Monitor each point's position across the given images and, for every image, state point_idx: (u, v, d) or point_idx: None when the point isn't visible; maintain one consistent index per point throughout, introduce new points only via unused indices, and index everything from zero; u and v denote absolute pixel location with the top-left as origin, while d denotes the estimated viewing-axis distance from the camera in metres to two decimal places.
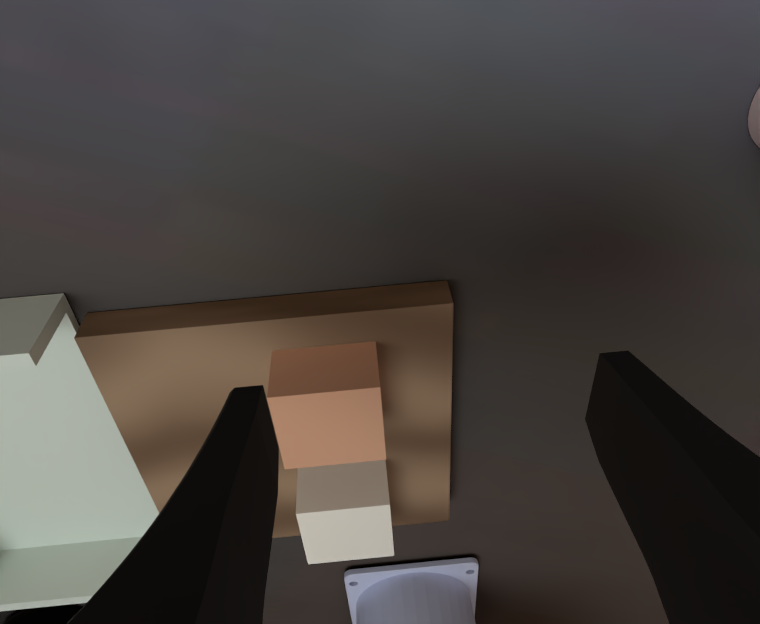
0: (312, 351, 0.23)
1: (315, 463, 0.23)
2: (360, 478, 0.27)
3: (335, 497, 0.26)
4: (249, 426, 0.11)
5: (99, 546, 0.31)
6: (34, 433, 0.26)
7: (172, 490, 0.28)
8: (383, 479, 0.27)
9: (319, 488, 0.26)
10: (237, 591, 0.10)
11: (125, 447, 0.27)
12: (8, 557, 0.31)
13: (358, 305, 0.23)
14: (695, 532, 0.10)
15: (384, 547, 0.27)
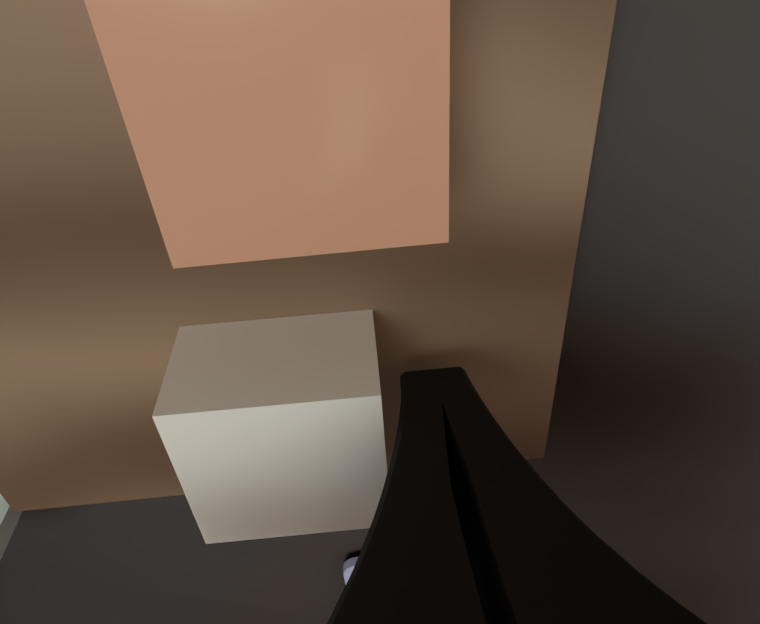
0: None
1: (257, 248, 0.09)
2: (314, 346, 0.12)
3: (253, 382, 0.11)
4: (441, 409, 0.11)
5: None
6: None
7: None
8: (367, 347, 0.12)
9: (219, 366, 0.11)
10: None
11: None
12: None
13: None
14: (478, 554, 0.10)
15: (370, 506, 0.12)
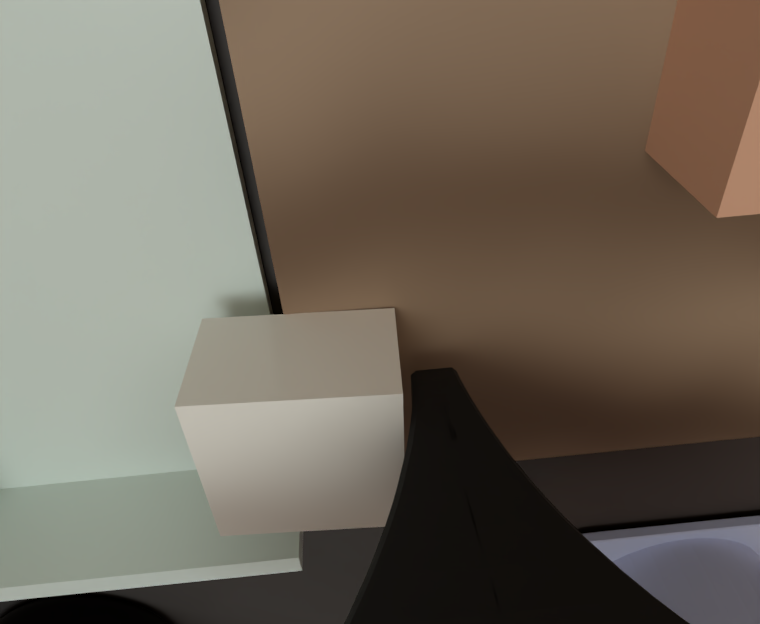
0: None
1: None
2: (336, 342, 0.12)
3: (275, 375, 0.11)
4: (453, 408, 0.11)
5: (167, 482, 0.17)
6: (48, 201, 0.12)
7: None
8: (389, 345, 0.12)
9: (241, 359, 0.11)
10: None
11: (243, 248, 0.13)
12: None
13: None
14: None
15: (385, 505, 0.12)
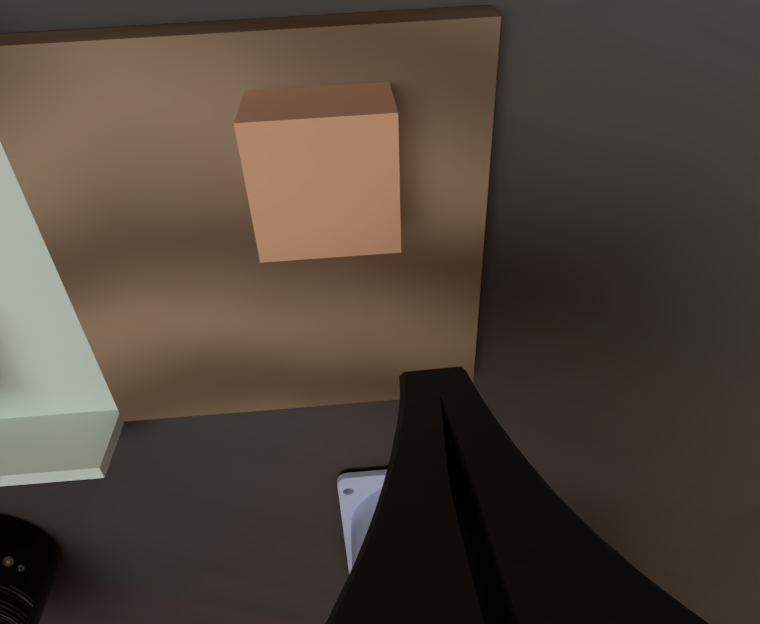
0: (301, 90, 0.16)
1: (303, 253, 0.17)
2: None
3: None
4: (440, 409, 0.11)
5: (26, 422, 0.25)
6: None
7: (114, 329, 0.21)
8: None
9: None
10: None
11: (52, 268, 0.21)
12: None
13: (366, 20, 0.16)
14: (479, 554, 0.10)
15: None
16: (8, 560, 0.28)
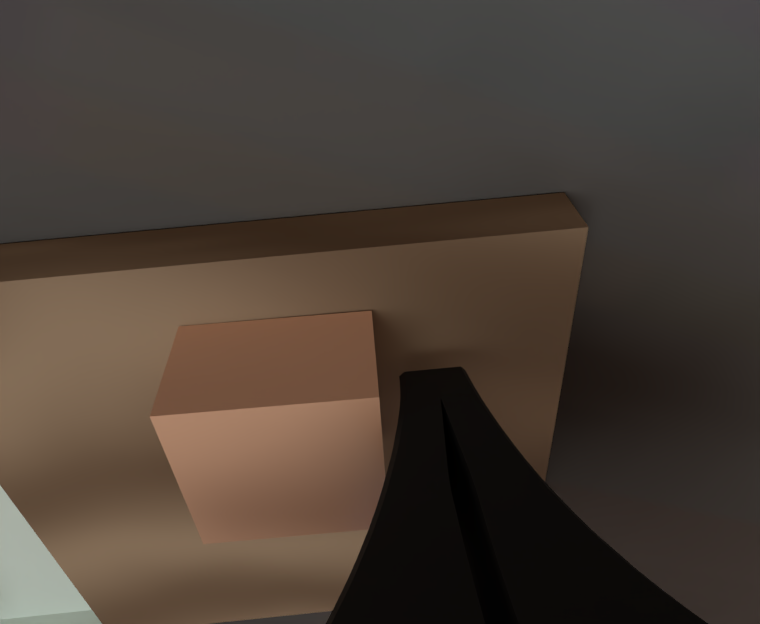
0: (253, 327, 0.12)
1: (260, 533, 0.13)
2: None
3: None
4: (440, 409, 0.11)
5: None
6: None
7: (92, 555, 0.17)
8: None
9: None
10: None
11: None
12: None
13: (405, 233, 0.12)
14: (479, 554, 0.10)
15: None
16: None
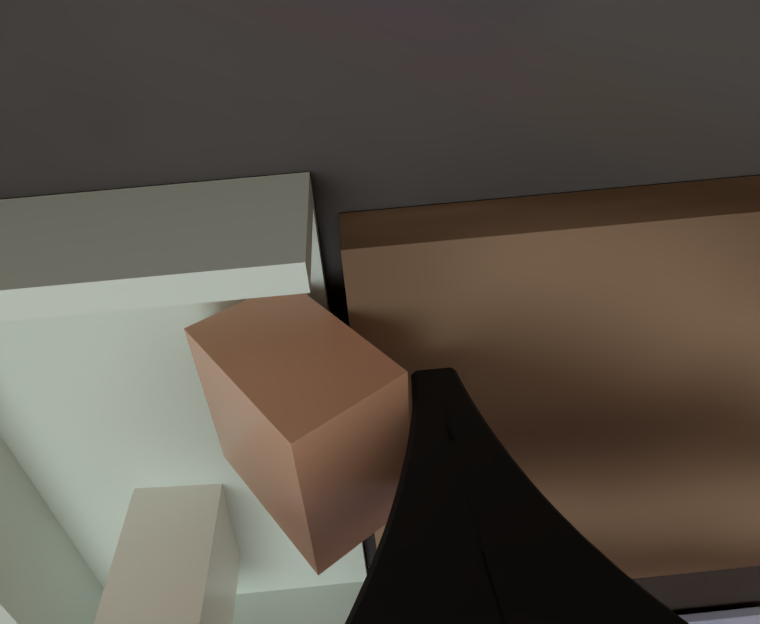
0: (319, 316, 0.12)
1: (248, 483, 0.14)
2: (166, 578, 0.15)
3: (142, 540, 0.16)
4: (453, 407, 0.11)
5: (261, 601, 0.21)
6: (203, 431, 0.16)
7: None
8: (149, 619, 0.14)
9: (167, 517, 0.17)
10: None
11: None
12: None
13: None
14: None
15: None
16: None
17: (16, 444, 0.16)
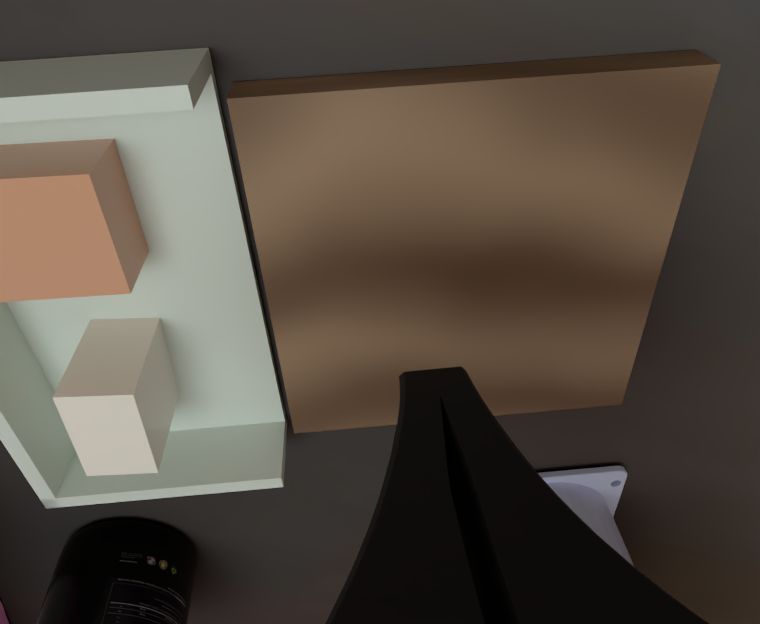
0: (33, 174, 0.16)
1: None
2: (110, 370, 0.20)
3: (94, 349, 0.21)
4: (440, 408, 0.11)
5: (198, 434, 0.26)
6: (142, 267, 0.21)
7: (306, 349, 0.22)
8: (96, 392, 0.19)
9: (114, 336, 0.22)
10: None
11: (250, 292, 0.22)
12: None
13: (593, 68, 0.17)
14: (479, 554, 0.10)
15: None
16: (163, 563, 0.29)
17: None
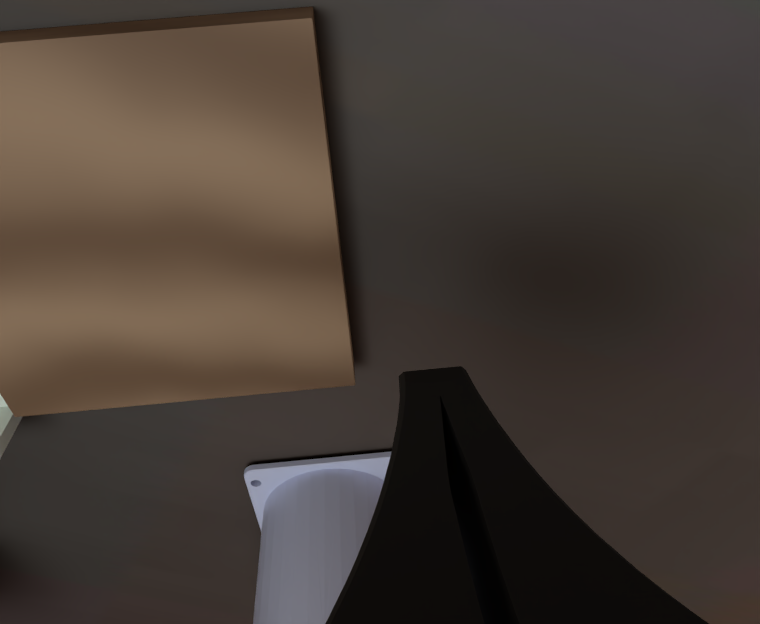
0: None
1: None
2: None
3: None
4: (440, 409, 0.11)
5: None
6: None
7: None
8: None
9: None
10: None
11: None
12: None
13: (184, 24, 0.17)
14: (479, 554, 0.10)
15: None
16: None
17: None
